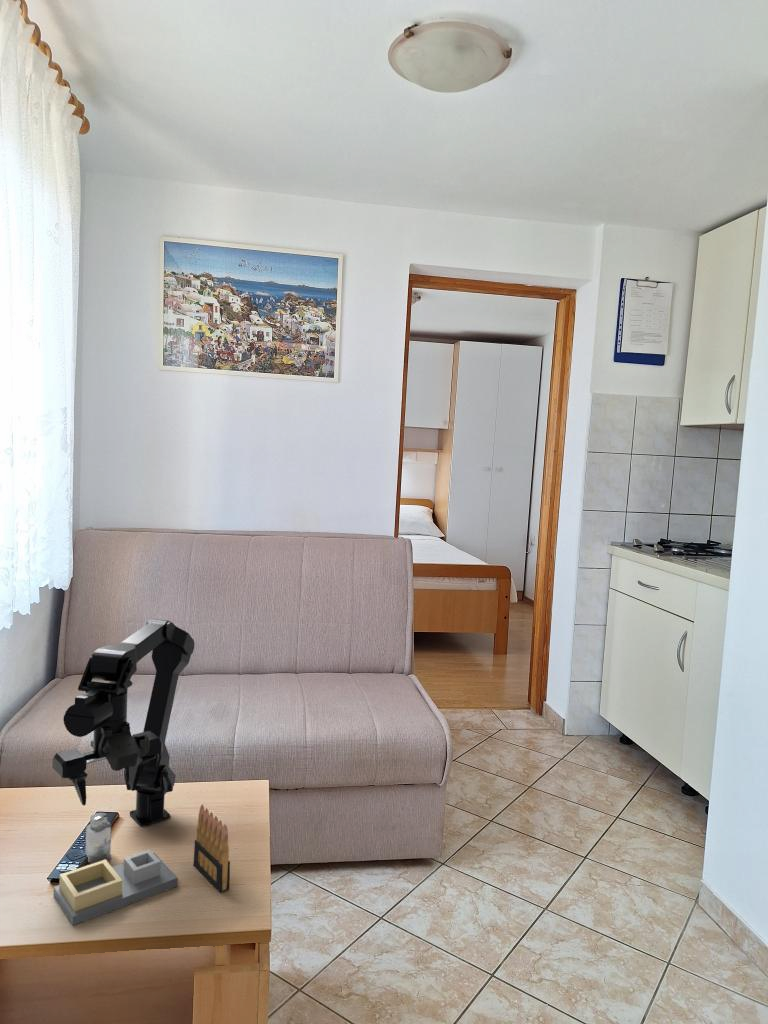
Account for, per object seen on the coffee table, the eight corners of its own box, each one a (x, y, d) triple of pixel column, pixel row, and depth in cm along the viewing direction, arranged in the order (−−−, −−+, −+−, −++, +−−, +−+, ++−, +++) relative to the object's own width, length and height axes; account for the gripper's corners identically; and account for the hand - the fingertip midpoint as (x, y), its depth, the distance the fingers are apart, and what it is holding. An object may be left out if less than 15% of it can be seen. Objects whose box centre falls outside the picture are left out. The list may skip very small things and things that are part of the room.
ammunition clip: (229, 889, 125) (232, 825, 125) (220, 893, 124) (222, 828, 123) (202, 862, 134) (204, 801, 133) (193, 865, 132) (195, 803, 131)
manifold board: (53, 894, 121) (54, 872, 121) (154, 860, 133) (154, 839, 133) (72, 925, 114) (73, 901, 114) (177, 885, 126) (178, 864, 125)
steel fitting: (82, 856, 133) (83, 815, 133) (105, 848, 136) (106, 808, 136) (90, 866, 130) (91, 825, 129) (113, 858, 133) (115, 818, 132)
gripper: (75, 742, 118) (73, 831, 120) (177, 718, 131) (175, 799, 133) (52, 722, 126) (50, 805, 128) (150, 701, 139) (148, 777, 141)
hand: (108, 797), depth 132 cm, fingers open, 9 cm apart
